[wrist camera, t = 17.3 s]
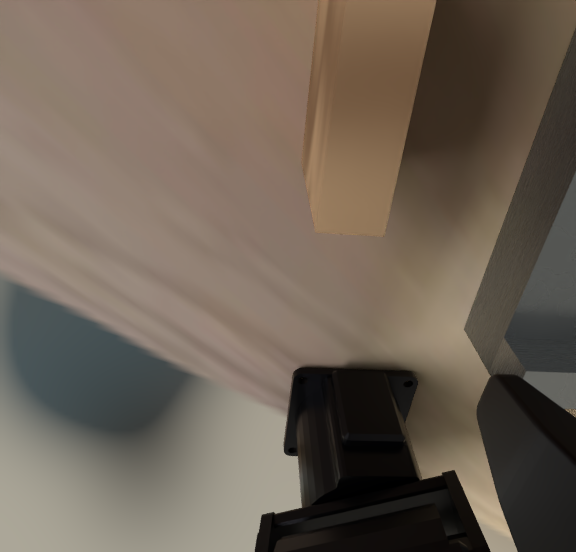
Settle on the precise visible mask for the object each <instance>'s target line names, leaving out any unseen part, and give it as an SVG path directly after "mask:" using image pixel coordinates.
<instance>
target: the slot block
mask: <svg viewBox="0 0 576 552" xmlns="http://www.w3.org/2000/svg"><path fill="white" fill-rule="evenodd" d="M464 330H465V332H466V333H467V335H468V337H469V339H470V341H471V342H472V344H473V346H474V348H475V349H476V351H477V353H478V355H479V356H480V358H481V360H482V362H483V363H484V365H485V367H486V369H487V370H488V372H489V374H490V376H492V375H493V374H514V375H518V376H519V377H521V378H522V379H524V380H525V381H527V382H528V383H529V384H531V385H532V386H533V387H535V388H536V389H537V390H539V391H540V392H541V393H543V394H544V395H546V396H547V397H548V398H550V399H551V400H552V401H554V402H555V403H556V404H558V405H559V406H561V407H562V408H563V409H576V29H575V32H574V34H573V37H572V40H571V43H570V45H569V48H568V51H567V53H566V56H565V59H564V61H563V64H562V67H561V69H560V72H559V75H558V78H557V80H556V83H555V86H554V88H553V91H552V94H551V96H550V99H549V102H548V105H547V107H546V110H545V113H544V115H543V118H542V121H541V123H540V126H539V129H538V131H537V134H536V137H535V140H534V142H533V145H532V148H531V150H530V153H529V156H528V158H527V161H526V164H525V166H524V169H523V172H522V175H521V177H520V180H519V183H518V185H517V188H516V191H515V193H514V196H513V199H512V202H511V204H510V207H509V210H508V212H507V215H506V218H505V220H504V223H503V226H502V228H501V231H500V234H499V237H498V239H497V242H496V245H495V247H494V250H493V253H492V255H491V258H490V261H489V264H488V266H487V269H486V272H485V274H484V277H483V280H482V282H481V285H480V288H479V290H478V293H477V296H476V299H475V301H474V304H473V307H472V309H471V312H470V315H469V317H468V320H467V323H466V325H465V328H464Z"/></svg>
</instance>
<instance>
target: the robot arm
mask: <svg viewBox="0 0 576 552" xmlns="http://www.w3.org/2000/svg"><path fill="white" fill-rule="evenodd" d="M301 377H306V378H303V379H301ZM408 380H409V381H408ZM405 381H408V382H405ZM417 385H418V381H417V378H416V376H415V374H414V373H413V372H409V371H384V370H353V369H323V368H299V369H297V370H295V371H294V373H293V376H292V383H291V391H290V399H289V406H288V414H287V422H286V429H285V437H284V453H285V454H286V455H289V456H298V463H299V477H300V490H301V503H302V508H299V509H294V510H290V511H286V512H281V513H277V514H275V513H274V512H272V513H267V514H263V515H262V517H261V523H260V529H259V533H258V535H257V540H256V547H255V552H490V549H489V547H488V544H487V542H486V540H485V538H484V535H483V533H482V531H481V529H480V526H479V524H478V522H477V520H476V517H475V515H474V513H473V511H472V508H471V506H470V504H469V502H468V499H467V497H466V495H465V493H464V490H463V488H462V486H461V484H460V481H459V479H458V477H457V475H456V472H455V470H452V471H448V472H443V473H442V475H441V476H436V477H432V478H428V479H423V480H422V476H421V473H420V470H419V467H418V464H417V461H416V458H415V454H414V451H413V448H412V445H411V442H410V439H409V436H408V433H407V429H406V426H405V421H406V418H407V415H408V412H409V409H410V406H411V403H412V400H413V397H414V394H415V391H416V388H417ZM477 420H478V424H479V428H480V432H481V435H482V439H483V443H484V447H485V451H486V454H487V458H488V462H489V466H490V469H491V473H492V477H493V481H494V485H495V488H496V492H497V495H498V499H499V502H500V505H501V508H502V510H503V513H504V516H505V519H506V521H507V524H508V527H509V529H510V532H511V535H512V537H513V540H514V543H515V545H516V548H517V551H518V552H576V417H574V416H573V415H571V414H570V413H569V412H567V411H566V410H565V409H563V408H562V407H561V406H559V405H558V404H556V403H555V402H554V401H552V400H551V399H550V398H548V397H547V396H546V395H544V394H543V393H541V392H540V391H539V390H537V389H536V388H535V387H533V386H532V385H531V384H529V383H528V382H527V381H525V380H524V379H522V378H521V377H519V376H518V375H514V374H493V375H492V376H491V377H490V378H489V380H488V382H487V385H486V387H485V389H484V391H483V394H482V396H481V398H480V401H479V403H478V406H477Z"/></svg>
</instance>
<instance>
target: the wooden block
mask: <svg viewBox="0 0 576 552" xmlns="http://www.w3.org/2000/svg"><path fill="white" fill-rule="evenodd" d="M435 5H436V0H318V9H317V18H316V28H315V37H314V47H313V56H312V66H311V76H310V85H309V95H308V104H307V114H306V123H305V133H304V142H303V152H302V161H301V163H302V168H303V173H304V178H305V183H306V188H307V193H308V198H309V203H310V208H311V213H312V218H313V223H314V228H315V232H316V233H330V234H348V235H365V236H382V237H384V236H385V231H386V227H387V222H388V218H389V213H390V209H391V204H392V200H393V195H394V190H395V186H396V181H397V177H398V172H399V168H400V163H401V159H402V154H403V150H404V145H405V141H406V136H407V132H408V127H409V123H410V118H411V114H412V109H413V104H414V100H415V95H416V91H417V86H418V82H419V77H420V73H421V68H422V64H423V59H424V55H425V50H426V46H427V41H428V37H429V32H430V28H431V23H432V19H433V14H434V9H435Z"/></svg>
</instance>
